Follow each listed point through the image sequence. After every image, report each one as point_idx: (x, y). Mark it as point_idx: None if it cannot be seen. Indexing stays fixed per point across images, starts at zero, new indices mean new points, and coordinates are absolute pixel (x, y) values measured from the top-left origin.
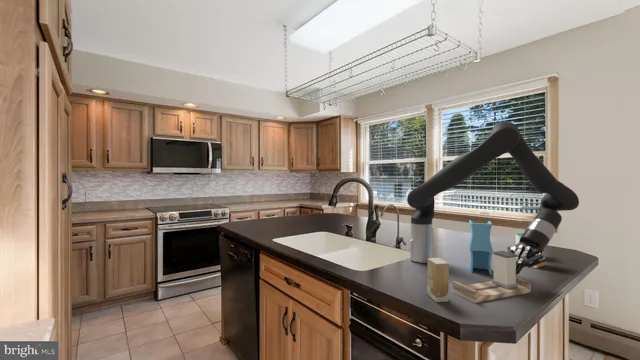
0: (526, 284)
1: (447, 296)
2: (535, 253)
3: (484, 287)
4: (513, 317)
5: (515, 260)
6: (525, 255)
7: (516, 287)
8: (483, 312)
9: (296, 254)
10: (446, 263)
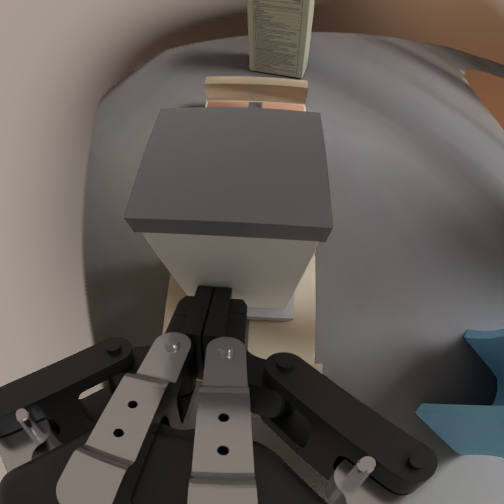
0: None
1: (249, 56)
2: (38, 456)
3: None
4: (106, 129)
5: (151, 242)
6: (115, 397)
7: None
8: (163, 93)
9: None
10: None
